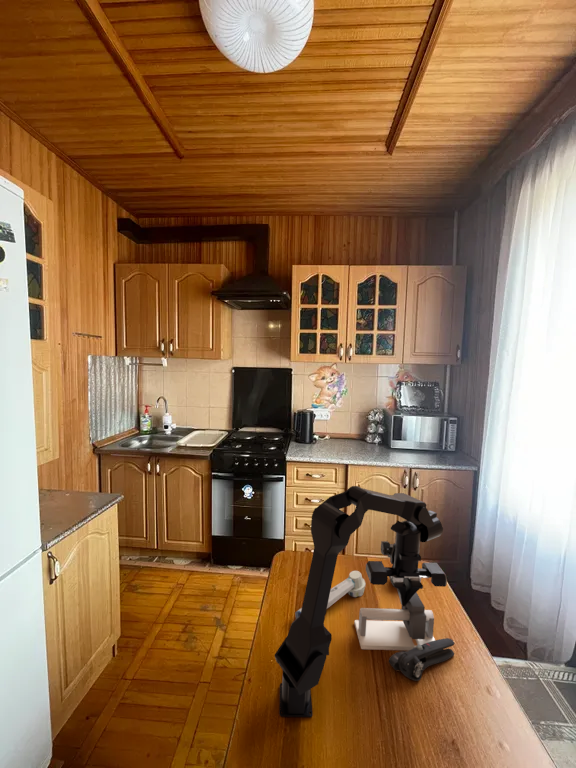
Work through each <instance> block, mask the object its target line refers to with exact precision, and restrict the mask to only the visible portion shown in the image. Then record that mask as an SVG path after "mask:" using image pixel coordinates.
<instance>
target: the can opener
mask: <svg viewBox="0 0 576 768" xmlns="http://www.w3.org/2000/svg"><path fill="white" fill-rule="evenodd" d="M454 645H455V642H454V640H453V639H452V638H449V637H448V638H447V637H445V638H440V639H435V641H431V642H428V643H425V644H423V645H417V647H415V648H413V649H411V650H399V651H397V652H395V653H393V654H392V655H390V657H389V658H388V663H389V665H390V666H391V667H392V668H393V670H395V671H398V672H400V673H402V675H404V677H406V678H407V679H410V680H412V681H414V682H417V681H421V679H422V676H423V672H424V671H425V670H426V669H427V668H428V667H429V666H432V665H433V666H434V665H435V664H440V663H444V662H446V661H448V660H449V659H450V658H453V657H454V656H455V652H454V650H453V649H451V647H453V646H454Z"/></svg>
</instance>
